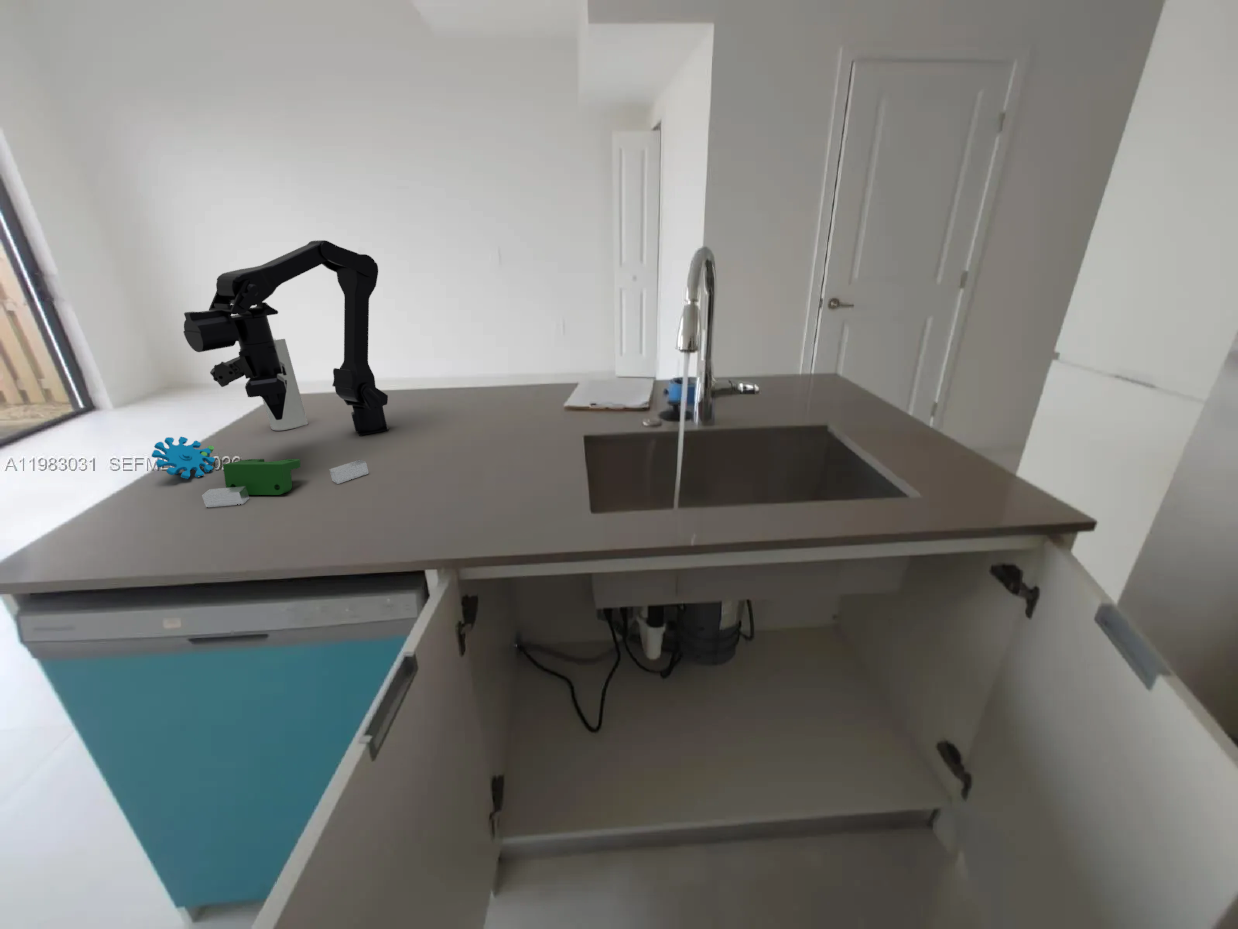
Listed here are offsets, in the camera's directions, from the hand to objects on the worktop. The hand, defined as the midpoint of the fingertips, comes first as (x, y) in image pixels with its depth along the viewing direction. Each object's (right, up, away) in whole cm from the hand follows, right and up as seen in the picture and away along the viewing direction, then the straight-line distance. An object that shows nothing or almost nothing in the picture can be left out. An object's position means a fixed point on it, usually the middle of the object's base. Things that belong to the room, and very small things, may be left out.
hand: (279, 419), depth 111 cm
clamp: (+3, -14, -8) cm, 16 cm away
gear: (-17, -11, -1) cm, 20 cm away
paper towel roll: (-12, 0, +23) cm, 26 cm away
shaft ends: (+8, -14, -9) cm, 19 cm away
